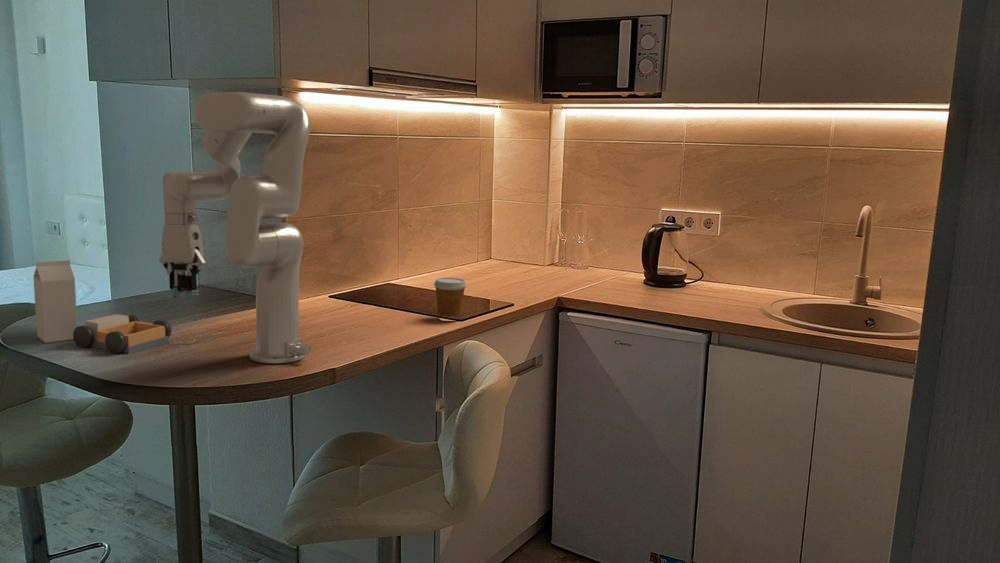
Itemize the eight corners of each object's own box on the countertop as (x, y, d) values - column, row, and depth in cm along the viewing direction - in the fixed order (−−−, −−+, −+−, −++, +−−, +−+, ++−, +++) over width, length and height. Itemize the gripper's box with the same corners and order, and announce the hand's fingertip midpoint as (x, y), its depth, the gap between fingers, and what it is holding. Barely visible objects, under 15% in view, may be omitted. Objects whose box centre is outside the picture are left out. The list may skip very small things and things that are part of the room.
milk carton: (77, 339, 183) (74, 262, 179) (44, 343, 178) (40, 264, 174) (69, 333, 188) (65, 258, 184) (36, 337, 183) (32, 260, 179)
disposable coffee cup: (440, 314, 229) (441, 276, 227) (469, 318, 226) (471, 279, 224) (427, 321, 220) (429, 280, 218) (458, 325, 217) (459, 284, 215)
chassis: (173, 340, 185) (172, 319, 184) (123, 355, 172) (122, 331, 171) (124, 332, 191) (123, 311, 190) (72, 345, 177) (70, 322, 176)
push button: (198, 294, 200) (197, 257, 199) (199, 298, 196) (198, 260, 194) (171, 295, 198) (169, 258, 196) (172, 299, 193) (170, 260, 191)
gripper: (216, 220, 194) (219, 290, 197) (166, 217, 200) (169, 284, 203) (195, 222, 187) (198, 294, 190) (143, 219, 193) (147, 288, 196)
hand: (183, 288), depth 196 cm, fingers closed on push button, 4 cm apart
